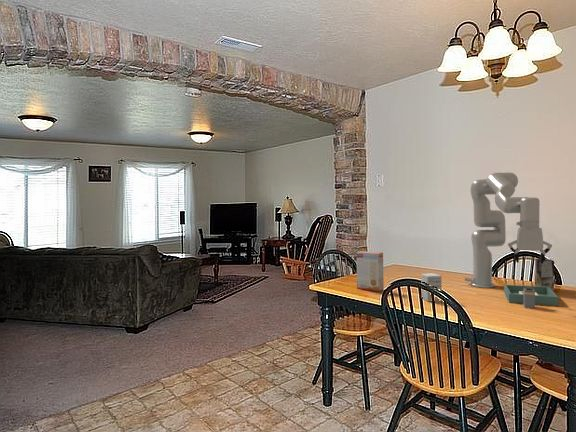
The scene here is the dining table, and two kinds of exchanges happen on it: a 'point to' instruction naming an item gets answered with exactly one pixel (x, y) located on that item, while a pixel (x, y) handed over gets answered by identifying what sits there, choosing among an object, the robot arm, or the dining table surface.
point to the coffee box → (544, 273)
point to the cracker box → (370, 271)
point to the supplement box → (433, 281)
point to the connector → (529, 297)
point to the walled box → (541, 295)
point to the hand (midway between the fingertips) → (529, 262)
